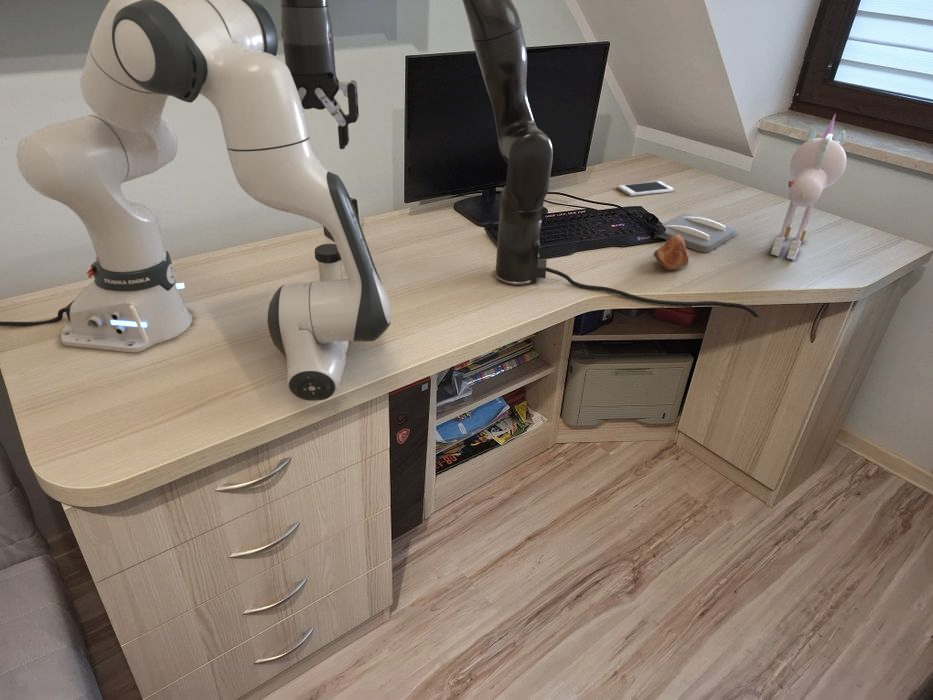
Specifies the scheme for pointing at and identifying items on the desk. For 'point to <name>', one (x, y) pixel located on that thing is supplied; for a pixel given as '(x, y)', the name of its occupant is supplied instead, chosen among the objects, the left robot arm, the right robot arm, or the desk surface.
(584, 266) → the desk surface
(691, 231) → the light switch
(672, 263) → the fossil
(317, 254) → the lid
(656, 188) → the smartphone
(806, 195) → the toy
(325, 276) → the beige cylindrical bottle
